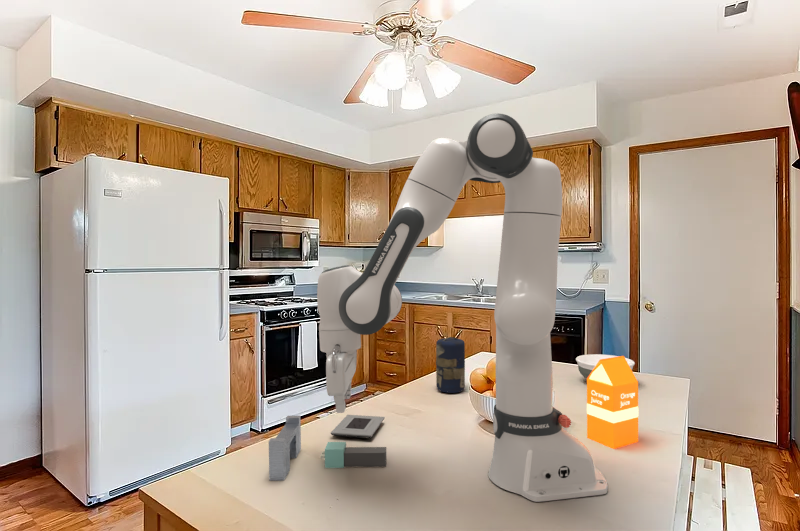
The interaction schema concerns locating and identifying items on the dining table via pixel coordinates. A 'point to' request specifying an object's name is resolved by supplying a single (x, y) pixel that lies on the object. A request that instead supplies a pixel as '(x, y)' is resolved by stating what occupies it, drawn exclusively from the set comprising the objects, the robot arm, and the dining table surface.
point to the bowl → (594, 363)
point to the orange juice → (612, 403)
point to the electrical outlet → (358, 426)
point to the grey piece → (284, 448)
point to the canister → (450, 365)
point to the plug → (353, 456)
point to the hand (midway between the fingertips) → (344, 404)
